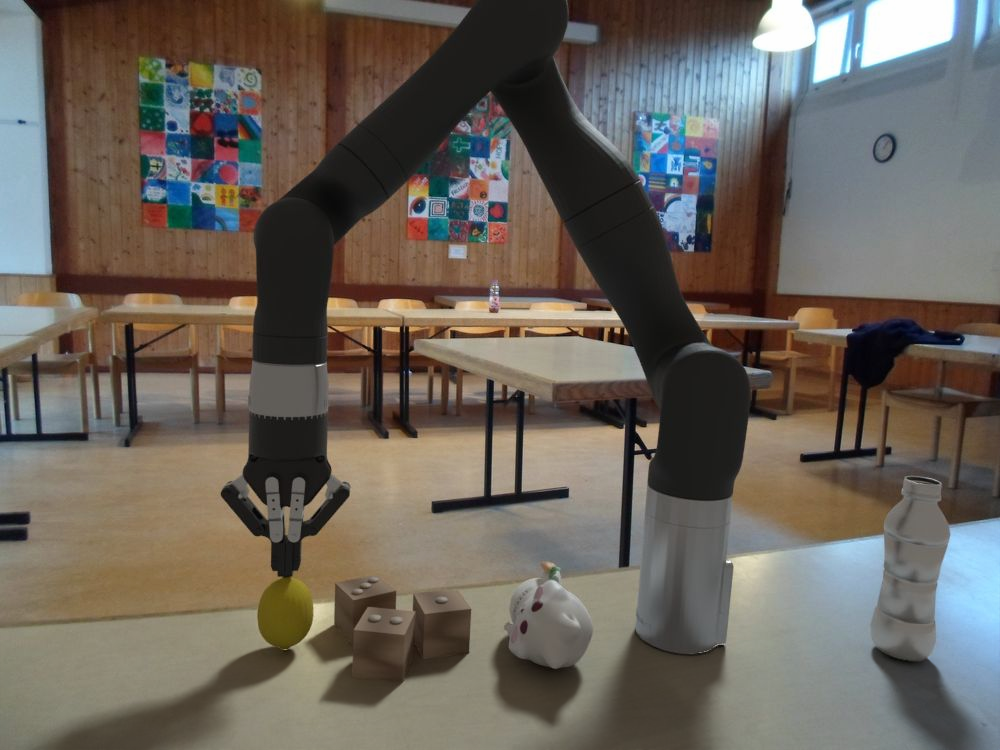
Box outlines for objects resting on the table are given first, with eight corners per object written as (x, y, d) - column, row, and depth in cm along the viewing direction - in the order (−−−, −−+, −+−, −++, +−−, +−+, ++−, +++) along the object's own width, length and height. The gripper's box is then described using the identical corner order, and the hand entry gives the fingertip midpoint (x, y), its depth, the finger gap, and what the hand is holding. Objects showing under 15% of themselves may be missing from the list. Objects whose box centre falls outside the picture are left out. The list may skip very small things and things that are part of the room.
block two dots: (413, 657, 75) (415, 609, 74) (402, 683, 70) (404, 632, 69) (366, 652, 75) (367, 604, 75) (352, 678, 70) (353, 627, 70)
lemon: (297, 667, 71) (298, 590, 70) (246, 659, 73) (247, 583, 71) (321, 641, 77) (323, 569, 76) (274, 633, 78) (274, 562, 77)
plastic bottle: (929, 648, 83) (952, 478, 80) (936, 676, 77) (962, 493, 74) (866, 634, 85) (887, 469, 83) (868, 659, 79) (891, 482, 77)
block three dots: (375, 615, 83) (376, 572, 83) (394, 634, 79) (396, 588, 79) (334, 625, 81) (335, 581, 80) (352, 645, 77) (353, 598, 76)
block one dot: (455, 631, 81) (457, 587, 80) (469, 653, 76) (471, 606, 75) (411, 636, 79) (413, 591, 78) (422, 660, 74) (424, 612, 74)
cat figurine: (528, 541, 83) (562, 580, 69) (584, 576, 85) (629, 621, 70) (483, 613, 83) (508, 668, 68) (541, 647, 84) (577, 708, 69)
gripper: (358, 401, 76) (352, 559, 79) (226, 398, 74) (224, 560, 76) (356, 415, 69) (350, 588, 71) (210, 412, 67) (209, 591, 69)
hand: (285, 573), depth 74 cm, fingers closed
